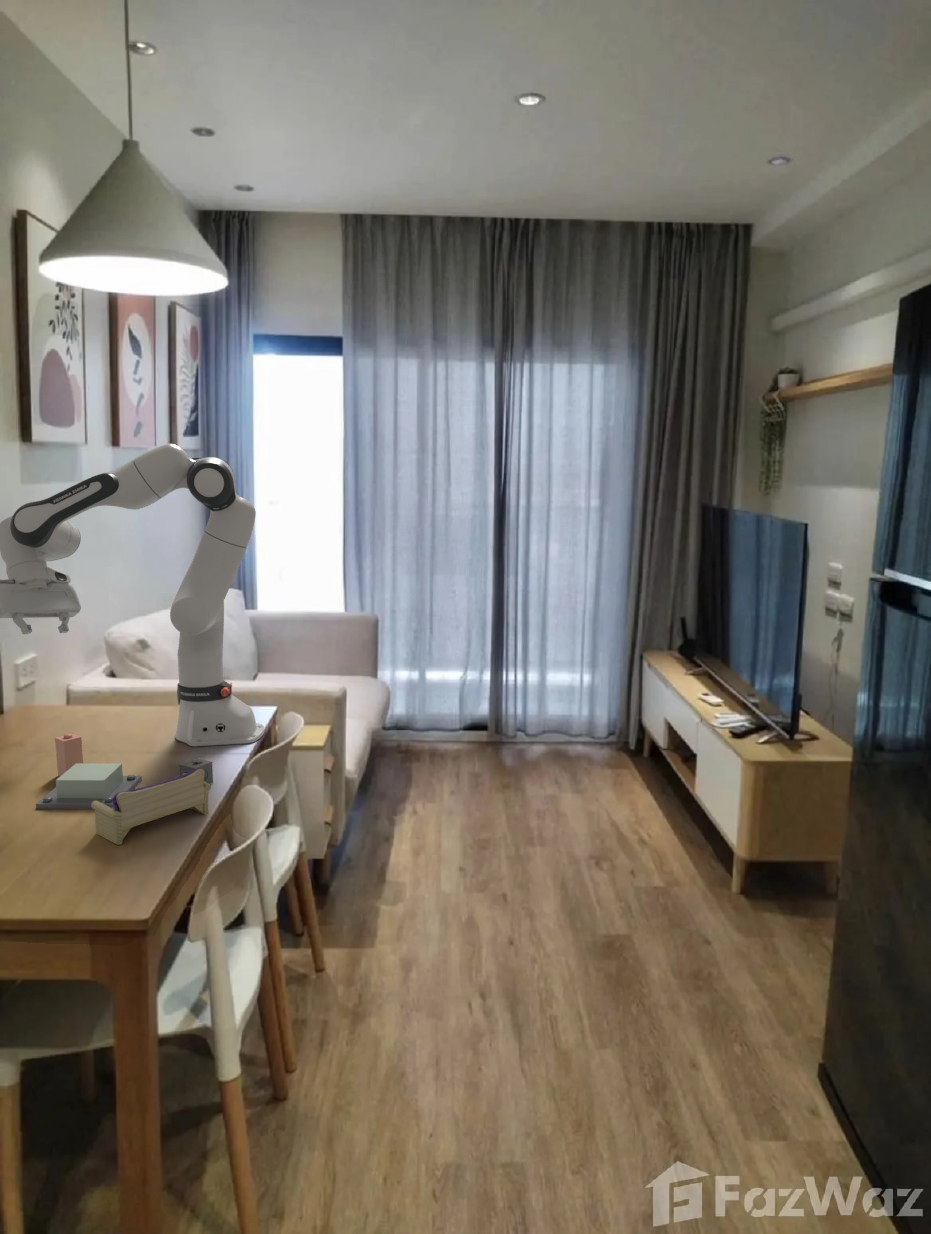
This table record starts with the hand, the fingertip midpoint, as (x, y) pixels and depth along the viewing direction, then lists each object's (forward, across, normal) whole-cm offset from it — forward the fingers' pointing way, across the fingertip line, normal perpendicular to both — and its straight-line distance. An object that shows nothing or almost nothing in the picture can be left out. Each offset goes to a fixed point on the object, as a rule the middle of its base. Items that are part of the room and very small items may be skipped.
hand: (46, 632), depth 202 cm
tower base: (+42, -6, -7) cm, 43 cm away
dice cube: (+48, +10, -20) cm, 53 cm away
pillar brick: (+34, -2, +4) cm, 34 cm away
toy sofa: (+55, -9, -27) cm, 61 cm away
